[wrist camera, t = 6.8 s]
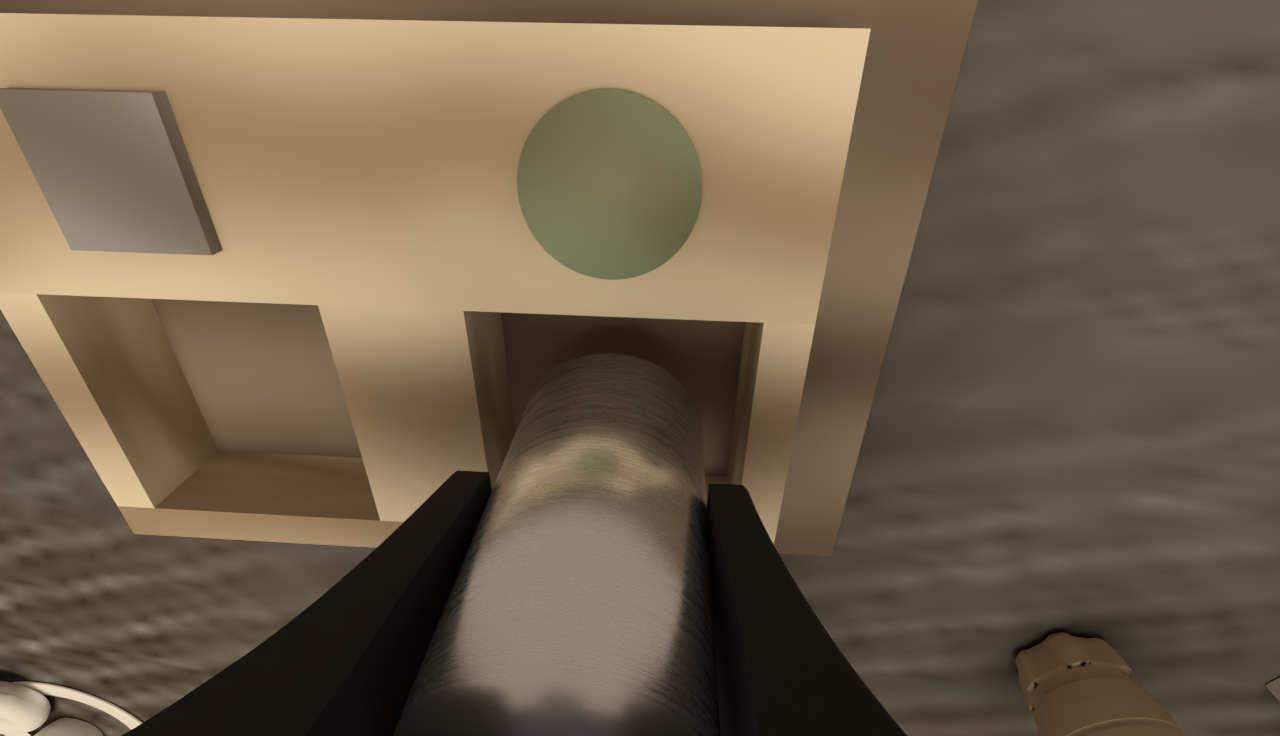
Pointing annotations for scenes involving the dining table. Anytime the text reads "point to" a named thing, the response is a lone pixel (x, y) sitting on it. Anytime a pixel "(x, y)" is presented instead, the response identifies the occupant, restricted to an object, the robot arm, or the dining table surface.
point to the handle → (1087, 691)
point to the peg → (584, 572)
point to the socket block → (456, 236)
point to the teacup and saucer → (28, 709)
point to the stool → (1274, 688)
